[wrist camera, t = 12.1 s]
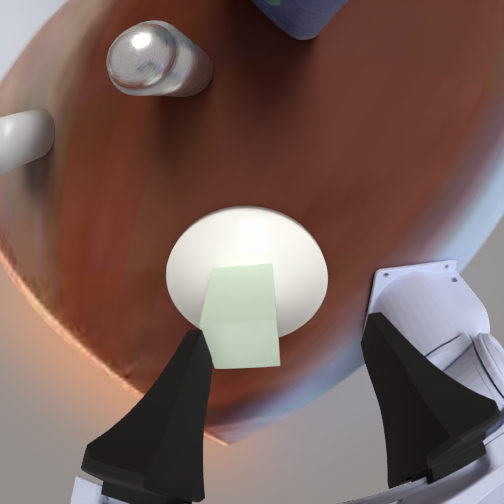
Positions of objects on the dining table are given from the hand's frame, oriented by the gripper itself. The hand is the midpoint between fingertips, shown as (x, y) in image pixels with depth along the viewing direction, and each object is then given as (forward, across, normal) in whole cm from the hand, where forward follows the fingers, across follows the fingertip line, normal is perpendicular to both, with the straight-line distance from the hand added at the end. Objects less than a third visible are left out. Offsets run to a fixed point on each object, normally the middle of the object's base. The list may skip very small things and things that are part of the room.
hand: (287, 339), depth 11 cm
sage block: (+9, +2, +4) cm, 10 cm away
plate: (+10, +2, +4) cm, 12 cm away
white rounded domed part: (+11, +18, -12) cm, 24 cm away
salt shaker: (+11, +4, -12) cm, 17 cm away
